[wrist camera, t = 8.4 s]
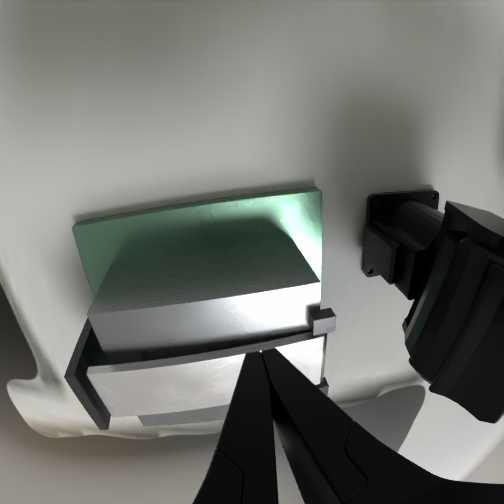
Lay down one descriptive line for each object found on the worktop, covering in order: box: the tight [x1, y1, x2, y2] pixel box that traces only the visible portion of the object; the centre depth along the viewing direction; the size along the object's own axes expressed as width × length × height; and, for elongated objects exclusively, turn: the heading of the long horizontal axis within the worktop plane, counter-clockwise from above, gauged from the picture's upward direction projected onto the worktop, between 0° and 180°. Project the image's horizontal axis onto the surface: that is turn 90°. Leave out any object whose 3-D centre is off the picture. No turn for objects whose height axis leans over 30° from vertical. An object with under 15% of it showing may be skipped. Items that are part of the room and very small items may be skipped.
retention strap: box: [87, 332, 327, 417], centre depth 17 cm, size 13×4×1 cm, turn 95°
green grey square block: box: [64, 187, 336, 430], centre depth 19 cm, size 16×16×8 cm
